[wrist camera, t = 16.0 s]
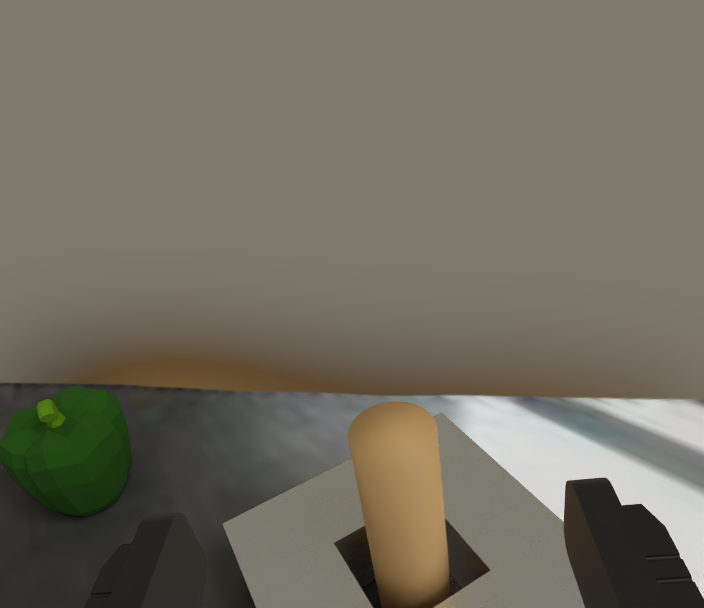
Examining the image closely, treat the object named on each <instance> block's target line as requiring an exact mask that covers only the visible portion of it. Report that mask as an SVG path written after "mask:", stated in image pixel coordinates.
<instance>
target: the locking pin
mask: <svg viewBox="0 0 704 608" xmlns="http://www.w3.org/2000/svg"><path fill="white" fill-rule="evenodd" d="M348 440H349V445H350V450H351V455H352V460H353V465H354V471H355V476H356V481H357V486H358V491H359V496H360V502H361V507H362V512H363V517H364V522H365V527H366V532H367V538H368V543H369V548H370V553H371V558H372V563H373V569H374V574H375V579H376V584H377V589H378V594H379V599H380V605H381V608H434V607H435V606H437V605H438V604H440V603H441V602H443V601H444V600H446V599H447V598H449V597H451V596H452V595H451V583H450V572H449V560H448V548H447V537H446V525H445V513H444V501H443V490H442V478H441V466H440V454H439V443H438V431H437V425H436V422H435V420H434V418H433V417H432V415H431V414H430V413H429V412H427V411H426V410H425V409H423V408H421V407H419V406H417V405H414V404H410V403H405V402H388V403H382V404H379V405H375V406H373V407H371V408H369V409H367V410H365V411H364V412H362V413H361V414H360V415H358V416H357V417H356V419H355V420H354V421H353V422H352V424H351V426H350V429H349V433H348Z"/></svg>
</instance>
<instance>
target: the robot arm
mask: <svg viewBox="0 0 704 608" xmlns="http://www.w3.org/2000/svg"><path fill="white" fill-rule="evenodd" d="M564 539H565V545H566V550H567V554H568V558H569V561H570V564H571V567H572V570H573V573H574V576H575V579H576V582H577V585H578V588H579V591H580V594H581V597H582V600H583V603H584V606H585V608H704V599H703V597H702V595H701V593H700V591H699V589H698V588H697V586H696V584H695V582H693V581H692V578H691V574H690V573H689V571H688V569H687V567H686V565H685V563H684V561H683V559H681V558H680V555H679V552H678V550H677V548H676V546H675V544H674V542H673V540H672V539H671V537H670V535H669V533H668V531H667V529H666V527H665V526H664V525H663V524H662V523H661V522H660V521H659V520H658V519H657V518H656V517H655V516H654V515H652V514H651V513H650V512H649V511H648V510H647V509H646V508H645V507H644V506H643V505H642V504H635V505H622V506H621V503H620V501H619V499H618V497H617V495H616V493H615V491H614V489H613V487H612V485H611V483H610V481H609V480H608V479H607V478H594V479H583V480H571V481H567V482H566V490H565V510H564ZM205 579H206V562H205V557H204V554H203V552H202V550H201V548H200V546H199V544H198V541H197V539H196V537H195V535H194V533H193V531H192V529H191V527H190V525H189V523H188V521H187V518H186V517H185V515H184V514H182V513H172V514H161V515H149V516H146V517H145V518H144V519H143V520H142V522H141V524H140V526H139V528H138V530H137V533H136V535H135V538H134V540H133V542H132V544H122V545H121V546H120V547H119V548H118V549H117V551H116V552H115V553H114V554H113V555H112V557H111V558H110V559H109V560H108V561H107V563H106V564H105V565H104V566H103V567H102V569H101V572H100V574H99V576H98V578H97V580H96V583H95V585H94V587H93V589H92V592H91V598H90V599H88V600H87V603H86V605H85V607H84V608H199V604H200V600H201V596H202V593H203V589H204V585H205Z"/></svg>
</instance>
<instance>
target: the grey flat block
mask: <svg viewBox="0 0 704 608" xmlns="http://www.w3.org/2000/svg"><path fill="white" fill-rule="evenodd" d="M433 418H434V420H435V422H436V425H437V431H438V443H439V454H440V466H441V478H442V490H443V501H444V513H445V525H446V537H447V548H448V560H449V572H450V574H451V575H452V576H453V577H454V579H455V580H456V581H457V582H458V584H459V585H460V586H461V587H462V589H461V590H460V591H458V592H457V593H455V594H454V595H452V596H451V597H449V598H447V599H446V600H444V601H443V602H441V603H440V604H438V605H437V606H435V607H434V608H585V606H584V603H583V600H582V597H581V594H580V591H579V588H578V585H577V582H576V579H575V576H574V573H573V570H572V567H571V564H570V561H569V558H568V554H567V550H566V545H565V539H564V522H563V521H562V520H560V519H559V518H558V517H557V516H556V515H555V514H554V513H553V512H552V511H550V510H549V509H548V508H547V507H546V506H545V505H544V504H543V503H541V502H540V501H539V500H538V499H537V498H536V497H535V496H534V495H533V494H531V493H530V492H529V491H528V490H527V489H526V488H525V487H524V486H523V485H521V484H520V483H519V482H518V481H517V480H516V479H515V478H514V477H513V476H511V475H510V474H509V473H508V472H507V471H506V470H505V469H504V468H503V467H501V466H500V465H499V464H498V463H497V462H496V461H495V460H494V459H492V458H491V457H490V456H489V455H488V454H487V453H486V452H485V451H484V450H482V449H481V448H480V447H479V446H478V445H477V444H476V443H475V442H474V441H472V440H471V439H470V438H469V437H468V436H467V435H466V434H465V433H464V432H462V431H461V430H460V429H459V428H458V427H457V426H456V425H455V424H453V423H452V422H451V421H450V420H449V419H448V418H447V417H446V416H445V415H443V414H442V413H440V414H438V415H436V416H434V417H433ZM223 526H224V529H225V532H226V534H227V537H228V539H229V542H230V544H231V547H232V550H233V552H234V555H235V557H236V560H237V562H238V565H239V568H240V570H241V573H242V575H243V578H244V580H245V583H246V585H247V588H248V590H249V593H250V595H251V598H252V600H253V603H254V605H255V608H373V607H372V605H371V603H370V602H369V600H368V598H367V597H366V595H365V594H364V592H363V590H362V589H361V588H362V587H364V586H366V585H367V584H369V583H371V582H372V581H374V580H376V579H375V574H374V569H373V563H372V558H371V553H370V548H369V543H368V538H367V532H366V527H365V522H364V517H363V512H362V507H361V502H360V496H359V491H358V486H357V481H356V476H355V471H354V465H353V460H352V458H351V459H349V460H347V461H345V462H343V463H341V464H339V465H337V466H335V467H333V468H331V469H329V470H327V471H326V472H324V473H322V474H320V475H318V476H316V477H314V478H312V479H310V480H308V481H306V482H304V483H302V484H300V485H298V486H296V487H294V488H292V489H290V490H288V491H286V492H284V493H282V494H280V495H278V496H276V497H274V498H272V499H270V500H268V501H266V502H264V503H262V504H260V505H258V506H256V507H254V508H252V509H250V510H249V511H247V512H245V513H243V514H241V515H239V516H237V517H235V518H233V519H231V520H229V521H227V522H225V523H223Z"/></svg>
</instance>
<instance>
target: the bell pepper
mask: <svg viewBox="0 0 704 608" xmlns="http://www.w3.org/2000/svg"><path fill="white" fill-rule="evenodd" d="M0 461H1V462H2V464H3V465H4V467H5V468H6V470H7V471H8V473H9V474H10V476H11V477H12V479H13V480H15V481H16V482H17V483H18V484H19V485H20V486H21V487H22V488H23V489H24V490H26V491H27V492H28V493H29V494H30V495H31V496H33V497H34V498H35V499H36V500H38V501H39V502H40V503H42V504H43V505H44V506H46V507H47V508H49V509H51V510H53V511H56V512H60V513H64V514H68V515H72V516H83V517H87V516H90V515H92V514H95V513H97V512H100V511H102V510H105V509H106V508H107V507H109V506H110V505H111V504H113V503H114V502H115V501H117V500H118V499H119V497H120V494H121V492H122V490H123V488H124V486H125V484H126V481H127V478H128V470H129V467H130V464H131V455H130V443H129V435H128V428H127V425H126V421H125V417H124V415H123V412H122V410H121V408H120V405H119V403H118V401H117V398H116V397H114V396H113V395H111V394H110V393H109V392H107V391H106V390H93V389H87V388H82V387H77V386H69V387H67V388H65V389H64V390H62V391H60V392H58V393H57V394H55V395H54V396H53V398H52V399H51V400H48V399H46V400H43V401H42V402H39V403H38V405H37V406H33V407H30V408H27V409H24V410H21V411H18V412H15V413H13V414H12V417H11V420H10V422H9V425H8V427H7V430H6V432H5V435H4V436H3V438H2V439H1V441H0Z"/></svg>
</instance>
